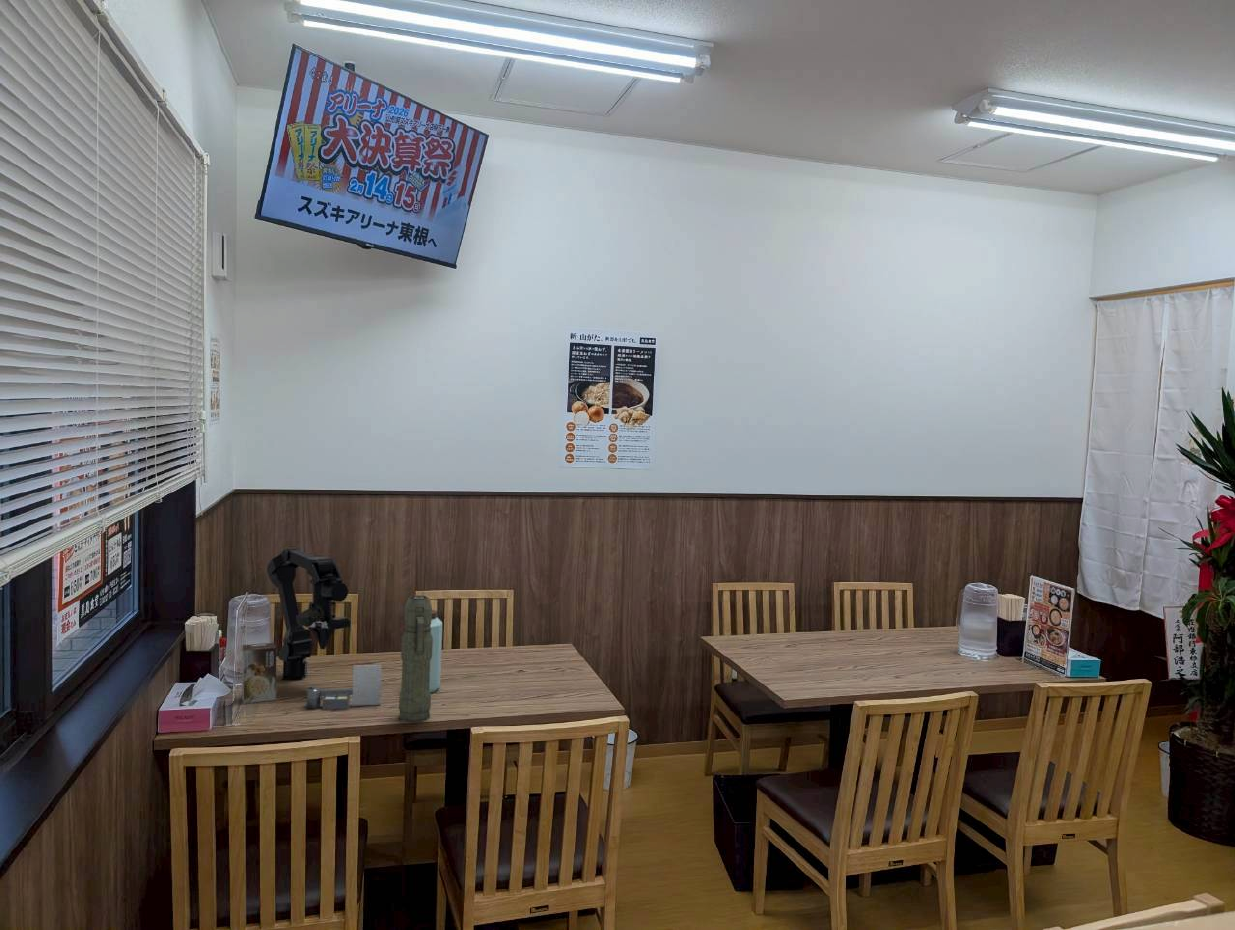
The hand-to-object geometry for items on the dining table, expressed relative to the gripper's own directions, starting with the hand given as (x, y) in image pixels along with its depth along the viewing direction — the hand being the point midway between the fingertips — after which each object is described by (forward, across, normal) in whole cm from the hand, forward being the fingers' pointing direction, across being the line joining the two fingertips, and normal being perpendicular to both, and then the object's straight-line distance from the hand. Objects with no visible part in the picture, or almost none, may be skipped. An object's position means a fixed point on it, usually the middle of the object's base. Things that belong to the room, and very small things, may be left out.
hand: (322, 649), depth 259 cm
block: (+14, +13, -7) cm, 21 cm away
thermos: (+16, +37, +1) cm, 40 cm away
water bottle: (+15, +23, +20) cm, 34 cm away
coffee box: (+13, -10, -16) cm, 23 cm away
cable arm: (+14, +14, -5) cm, 21 cm away
